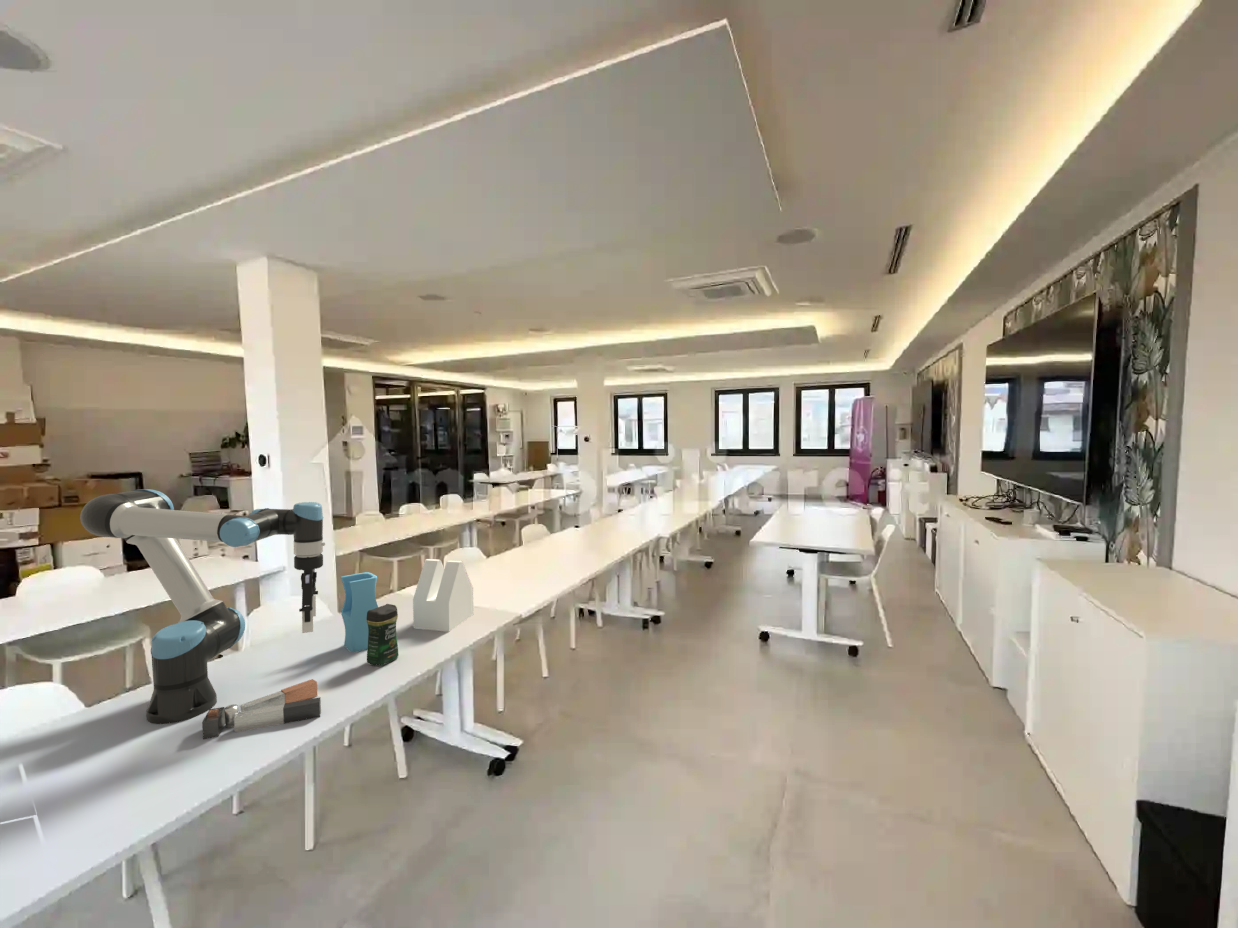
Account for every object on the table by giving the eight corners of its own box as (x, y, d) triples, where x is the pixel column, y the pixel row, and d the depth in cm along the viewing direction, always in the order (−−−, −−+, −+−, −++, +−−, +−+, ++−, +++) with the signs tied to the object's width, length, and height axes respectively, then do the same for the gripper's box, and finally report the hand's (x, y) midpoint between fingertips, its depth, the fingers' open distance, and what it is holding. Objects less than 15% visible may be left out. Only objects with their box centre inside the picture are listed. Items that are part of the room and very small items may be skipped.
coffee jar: (380, 668, 177) (378, 612, 175) (362, 664, 180) (361, 609, 178) (403, 656, 185) (402, 603, 184) (386, 652, 189) (384, 600, 187)
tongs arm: (227, 728, 140) (226, 711, 140) (223, 725, 142) (222, 707, 142) (317, 695, 158) (316, 679, 157) (313, 692, 160) (312, 676, 159)
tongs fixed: (203, 739, 136) (202, 718, 135) (210, 726, 142) (209, 705, 141) (319, 717, 146) (319, 698, 146) (322, 706, 152) (321, 687, 152)
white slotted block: (449, 631, 208) (448, 567, 206) (413, 628, 212) (412, 565, 210) (473, 614, 227) (472, 556, 225) (440, 611, 230) (439, 553, 229)
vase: (342, 644, 195) (340, 576, 194) (370, 637, 202) (368, 571, 200) (352, 653, 188) (349, 582, 187) (380, 645, 195) (379, 576, 193)
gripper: (320, 563, 152) (321, 637, 154) (324, 544, 175) (325, 609, 176) (289, 565, 149) (290, 641, 151) (297, 546, 171) (298, 612, 173)
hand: (309, 624), depth 163 cm, fingers open, 13 cm apart
